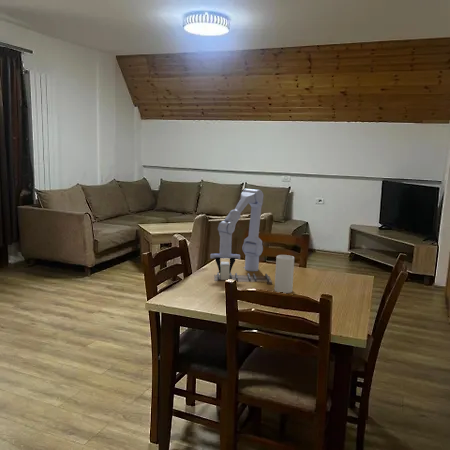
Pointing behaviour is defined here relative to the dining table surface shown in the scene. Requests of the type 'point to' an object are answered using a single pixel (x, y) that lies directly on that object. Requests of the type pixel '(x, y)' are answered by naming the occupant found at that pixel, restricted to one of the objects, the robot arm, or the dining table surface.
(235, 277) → the notch rail
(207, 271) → the dining table surface
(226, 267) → the white rectangular block
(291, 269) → the cup
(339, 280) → the dining table surface
